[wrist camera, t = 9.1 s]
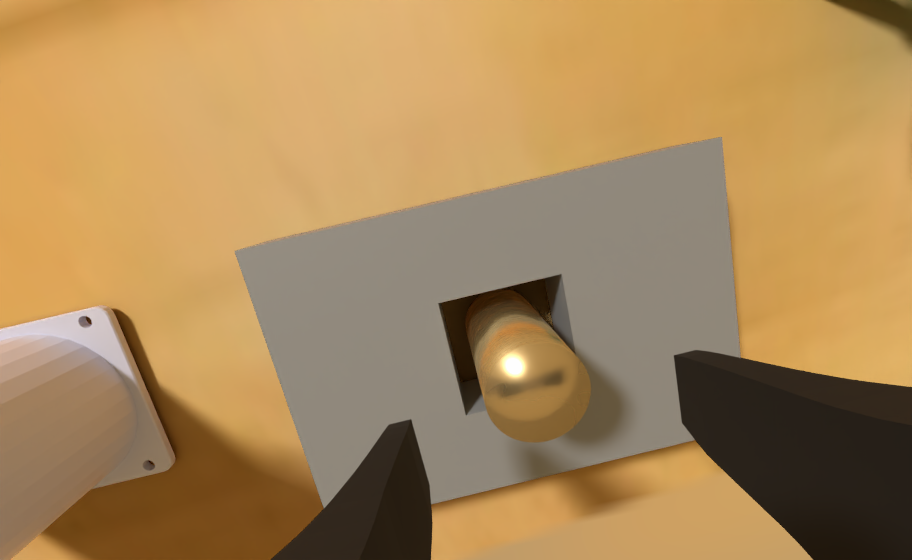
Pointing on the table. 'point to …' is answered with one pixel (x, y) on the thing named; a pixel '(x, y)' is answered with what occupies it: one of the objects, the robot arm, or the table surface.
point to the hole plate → (489, 268)
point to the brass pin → (524, 369)
